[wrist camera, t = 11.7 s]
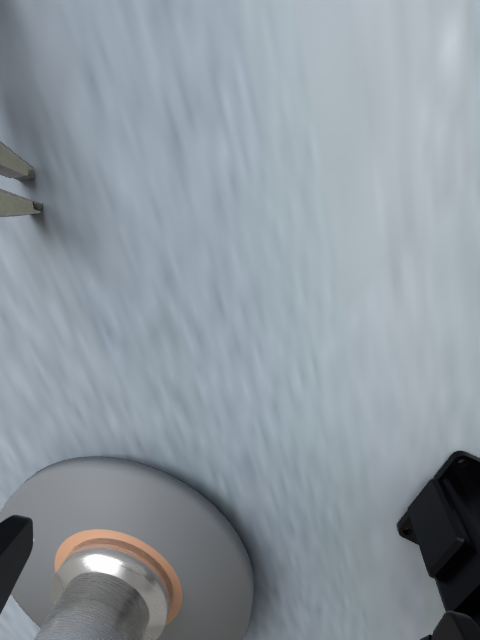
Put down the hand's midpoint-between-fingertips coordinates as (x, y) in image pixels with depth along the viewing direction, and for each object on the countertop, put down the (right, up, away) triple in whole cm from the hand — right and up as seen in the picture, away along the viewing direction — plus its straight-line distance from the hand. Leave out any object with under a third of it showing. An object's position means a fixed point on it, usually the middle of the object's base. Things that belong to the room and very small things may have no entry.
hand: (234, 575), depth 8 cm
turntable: (-8, -12, +18) cm, 23 cm away
